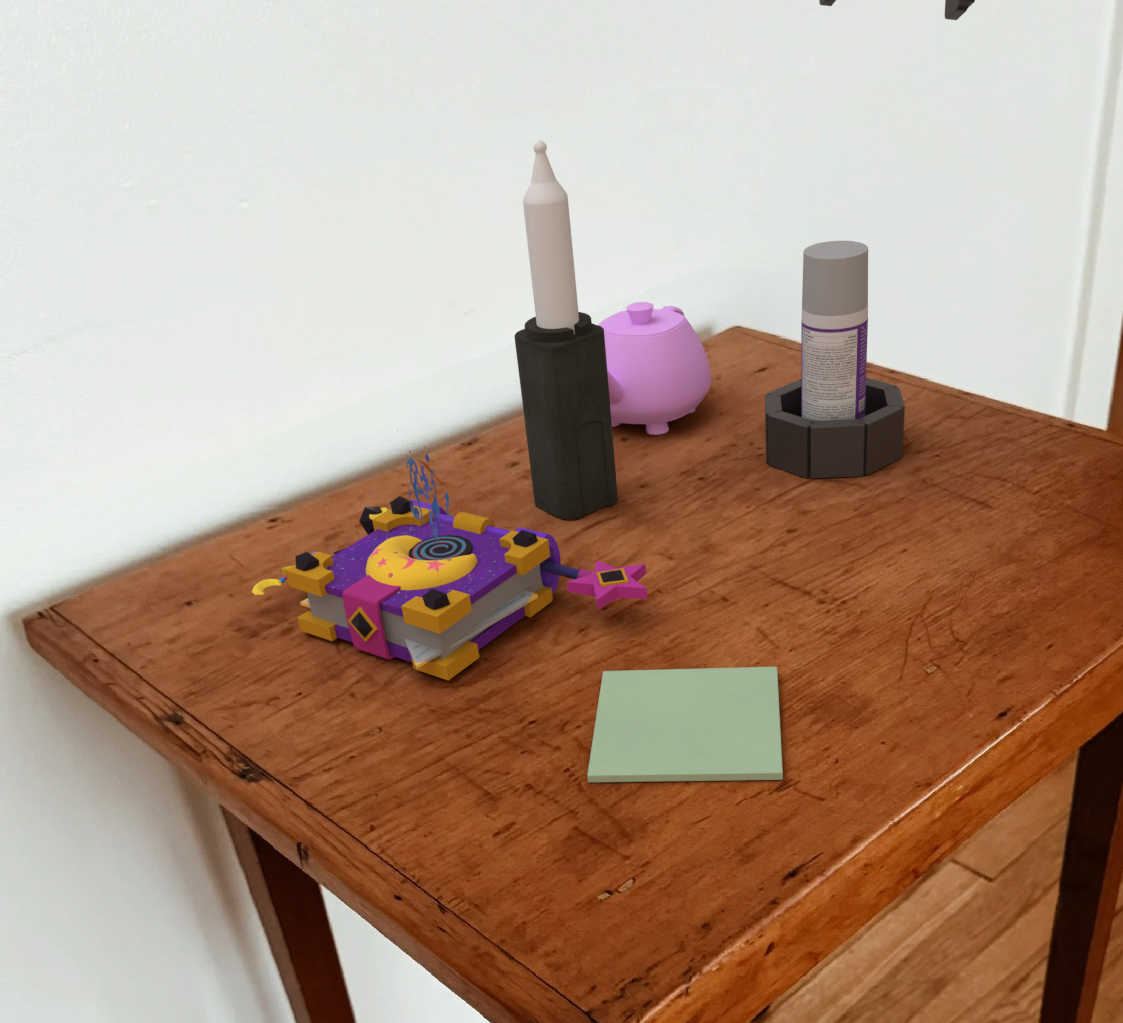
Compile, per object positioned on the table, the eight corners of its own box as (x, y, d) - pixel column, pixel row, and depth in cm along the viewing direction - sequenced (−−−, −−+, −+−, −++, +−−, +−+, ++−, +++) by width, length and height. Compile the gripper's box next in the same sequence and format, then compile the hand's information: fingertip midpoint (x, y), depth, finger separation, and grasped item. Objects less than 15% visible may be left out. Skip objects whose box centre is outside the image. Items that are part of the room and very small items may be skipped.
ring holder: (893, 421, 102) (895, 372, 100) (907, 474, 94) (909, 422, 92) (764, 428, 104) (764, 379, 102) (767, 481, 96) (766, 429, 93)
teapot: (739, 395, 110) (736, 284, 105) (651, 464, 100) (643, 345, 95) (633, 382, 115) (625, 275, 110) (540, 446, 105) (526, 332, 100)
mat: (777, 673, 74) (777, 666, 74) (782, 780, 66) (782, 772, 66) (603, 677, 76) (602, 670, 76) (587, 783, 68) (587, 775, 67)
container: (828, 433, 102) (831, 236, 93) (876, 447, 99) (884, 245, 90) (788, 452, 99) (787, 253, 91) (836, 468, 96) (840, 262, 88)
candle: (568, 523, 93) (529, 152, 79) (528, 502, 97) (483, 144, 83) (624, 500, 95) (595, 136, 82) (583, 480, 99) (548, 128, 85)
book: (383, 532, 95) (351, 370, 88) (672, 609, 82) (661, 425, 75) (233, 623, 86) (185, 450, 79) (531, 727, 72) (504, 529, 66)
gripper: (822, -318, 77) (806, -30, 79) (1046, -285, 79) (1026, -6, 81) (782, -240, 84) (769, 21, 86) (989, -213, 87) (972, 42, 88)
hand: (893, 8), depth 83 cm, fingers open, 8 cm apart
